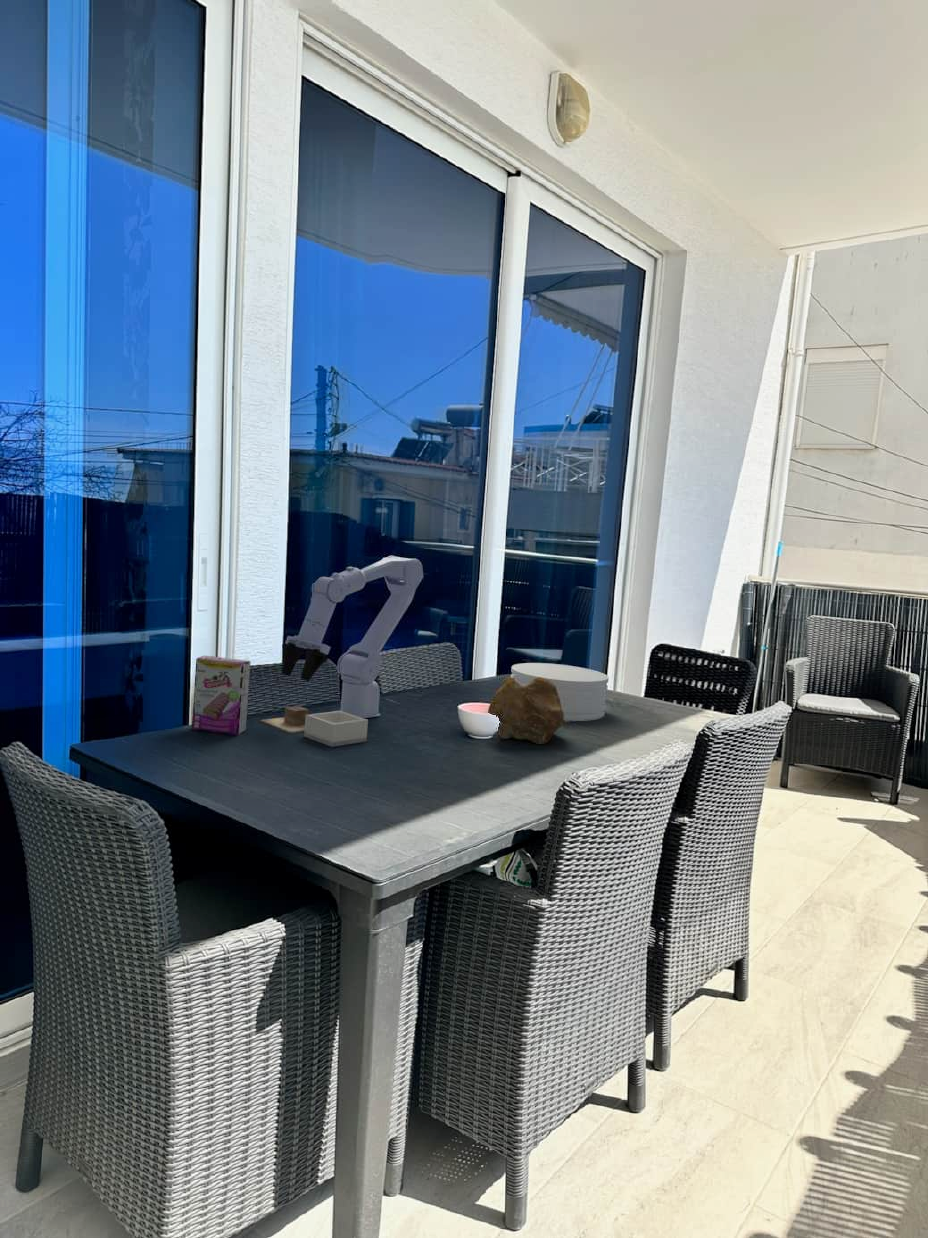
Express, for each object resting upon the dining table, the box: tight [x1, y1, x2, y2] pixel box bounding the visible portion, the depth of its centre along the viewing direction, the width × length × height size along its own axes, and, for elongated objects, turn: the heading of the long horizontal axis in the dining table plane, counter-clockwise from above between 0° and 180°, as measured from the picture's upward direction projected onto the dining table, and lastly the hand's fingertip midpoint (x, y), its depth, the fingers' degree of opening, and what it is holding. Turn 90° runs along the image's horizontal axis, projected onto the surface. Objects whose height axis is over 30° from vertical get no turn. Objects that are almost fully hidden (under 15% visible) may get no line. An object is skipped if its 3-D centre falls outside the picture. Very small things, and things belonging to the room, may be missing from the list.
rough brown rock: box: [487, 676, 564, 745], centre depth 217 cm, size 23×17×15 cm
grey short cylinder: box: [510, 662, 609, 720], centre depth 255 cm, size 28×28×12 cm
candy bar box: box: [191, 655, 251, 736], centre depth 198 cm, size 11×5×16 cm, turn 84°
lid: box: [260, 705, 310, 734], centre depth 210 cm, size 12×12×4 cm
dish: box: [303, 710, 369, 748], centre depth 200 cm, size 10×10×5 cm
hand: (294, 677), depth 209 cm, fingers open, 7 cm apart
